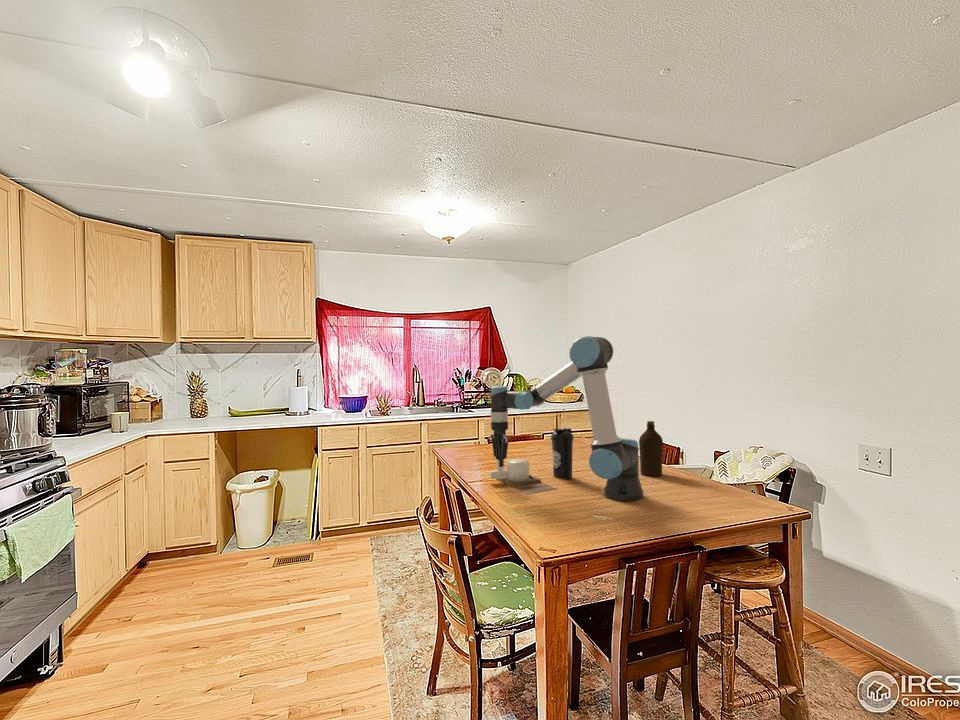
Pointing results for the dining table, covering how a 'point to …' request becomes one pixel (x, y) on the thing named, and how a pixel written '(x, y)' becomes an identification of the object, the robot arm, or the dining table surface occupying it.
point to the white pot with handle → (513, 471)
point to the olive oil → (651, 452)
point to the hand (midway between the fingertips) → (500, 473)
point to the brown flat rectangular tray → (529, 485)
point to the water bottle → (562, 453)
